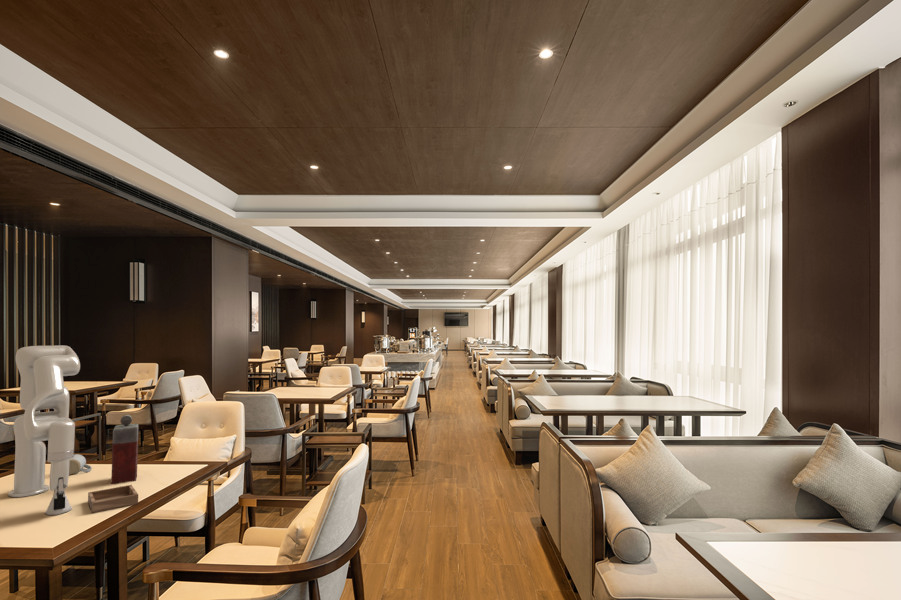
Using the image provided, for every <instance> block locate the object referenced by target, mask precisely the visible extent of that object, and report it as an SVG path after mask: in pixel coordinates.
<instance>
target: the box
mask: <svg viewBox="0 0 901 600" xmlns="http://www.w3.org/2000/svg"><path fill="white" fill-rule="evenodd" d="M87 503H88V505H89V508H90V510H91V514H96V513H100V512H105V511H111V510H117V509H120V508H127V507H130V506H135V505H139V493H138V492H137V491H136V489H135V487H134V486H133V485H132V484H128V485H127V484H126V485H123V486H116V487H111V488H106V489H100V490H96V491H89V492H88V493H87Z"/></svg>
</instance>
